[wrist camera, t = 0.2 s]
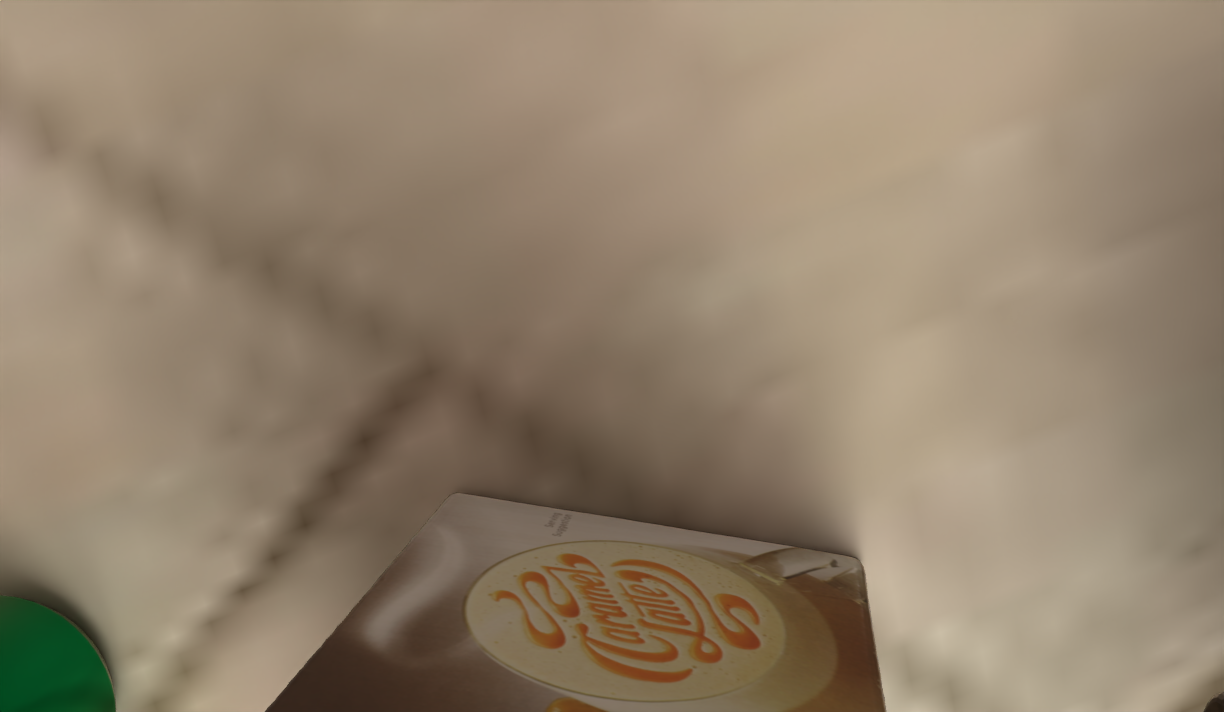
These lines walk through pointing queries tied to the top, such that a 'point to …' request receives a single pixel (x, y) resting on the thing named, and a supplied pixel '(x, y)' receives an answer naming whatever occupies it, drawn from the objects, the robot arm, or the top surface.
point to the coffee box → (596, 622)
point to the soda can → (49, 662)
